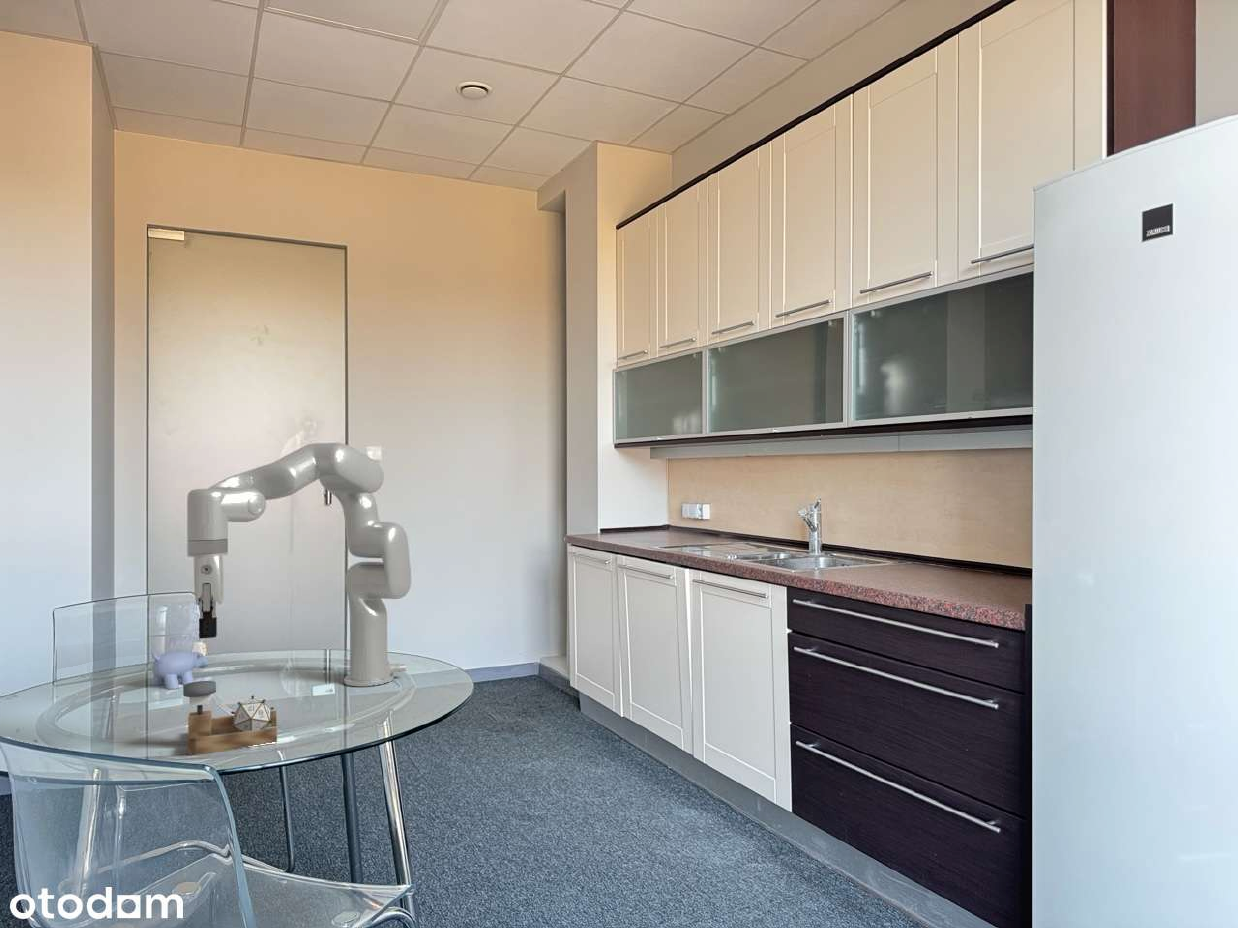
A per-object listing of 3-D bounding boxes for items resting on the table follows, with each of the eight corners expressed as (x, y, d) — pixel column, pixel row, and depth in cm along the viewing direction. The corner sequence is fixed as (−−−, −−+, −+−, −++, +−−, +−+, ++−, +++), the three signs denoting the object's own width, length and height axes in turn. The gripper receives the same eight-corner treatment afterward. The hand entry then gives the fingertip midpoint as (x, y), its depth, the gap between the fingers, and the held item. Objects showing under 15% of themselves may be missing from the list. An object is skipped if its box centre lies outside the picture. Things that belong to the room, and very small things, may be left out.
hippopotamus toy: (218, 679, 222) (218, 644, 222) (162, 692, 209) (162, 655, 210) (195, 674, 228) (195, 640, 228) (140, 686, 215) (140, 650, 215)
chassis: (276, 724, 181) (276, 688, 181) (276, 743, 168) (276, 705, 168) (192, 734, 174) (191, 697, 174) (185, 755, 161) (185, 715, 161)
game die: (248, 751, 174) (250, 706, 180) (283, 738, 173) (283, 693, 179) (218, 742, 167) (221, 695, 173) (254, 728, 166) (255, 682, 171)
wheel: (216, 697, 173) (216, 679, 173) (215, 704, 167) (215, 686, 167) (184, 700, 170) (184, 682, 170) (181, 708, 165) (181, 689, 165)
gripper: (226, 550, 164) (226, 642, 164) (228, 545, 178) (229, 629, 178) (184, 552, 161) (184, 645, 161) (190, 546, 175) (190, 632, 175)
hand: (207, 637), depth 169 cm, fingers closed
